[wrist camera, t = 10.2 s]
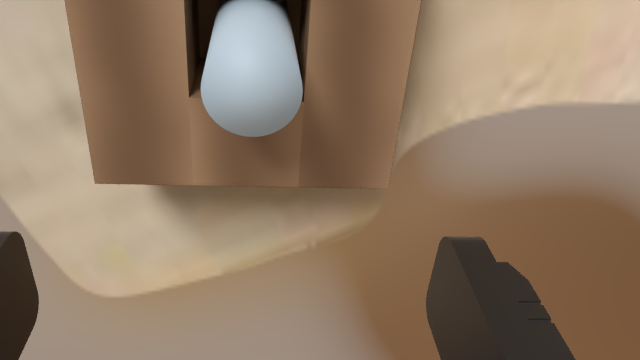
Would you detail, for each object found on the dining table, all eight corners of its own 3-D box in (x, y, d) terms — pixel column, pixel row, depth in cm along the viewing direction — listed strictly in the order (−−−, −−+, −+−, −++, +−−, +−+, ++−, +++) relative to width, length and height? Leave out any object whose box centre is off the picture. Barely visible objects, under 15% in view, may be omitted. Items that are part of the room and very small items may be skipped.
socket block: (407, -142, 25) (444, -136, 19) (368, 133, 32) (388, 188, 27) (85, -172, 23) (35, -174, 18) (122, 125, 30) (95, 183, 25)
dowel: (289, -23, 26) (306, 45, 17) (285, 47, 28) (298, 138, 19) (217, -28, 25) (199, 39, 17) (218, 43, 27) (202, 135, 19)
